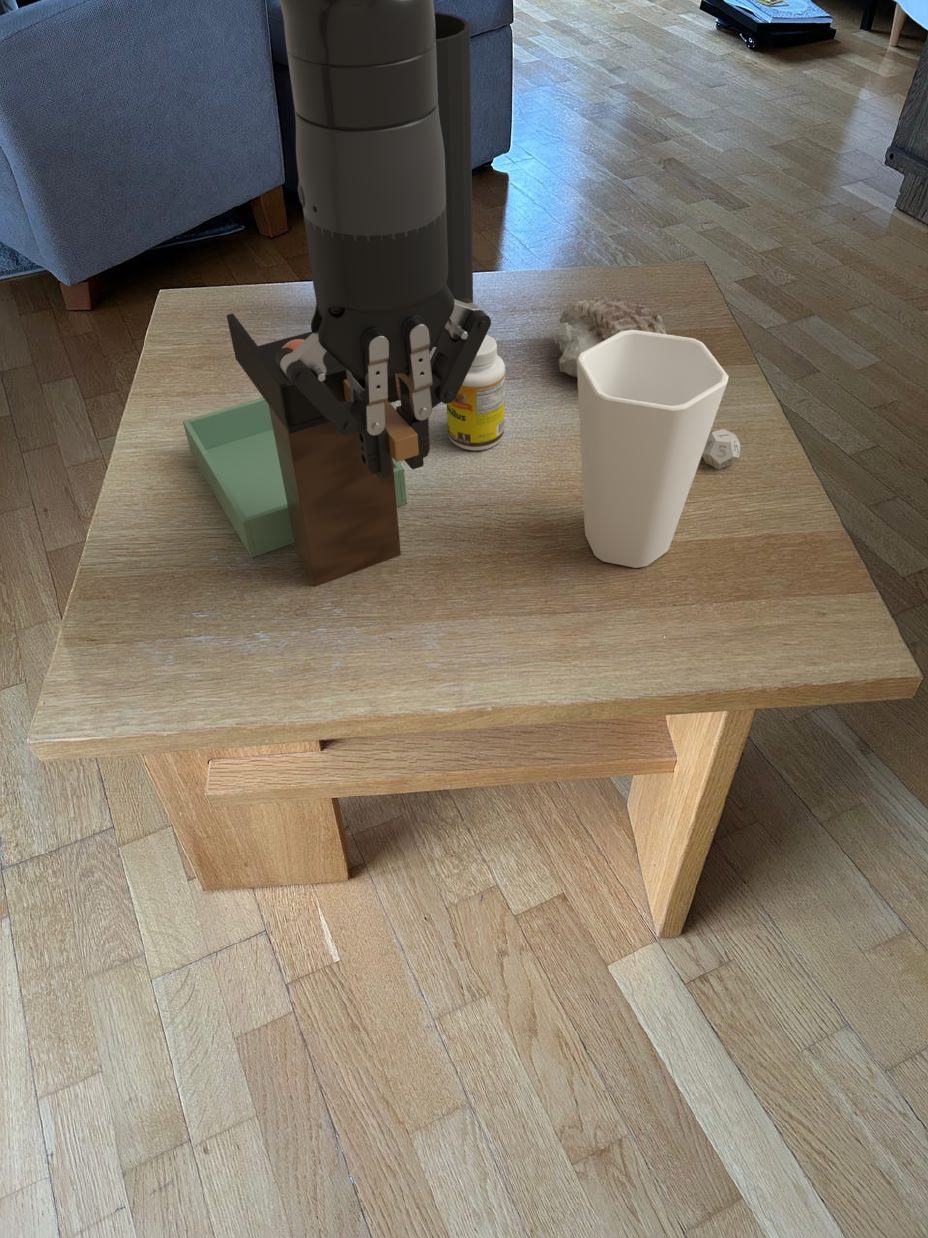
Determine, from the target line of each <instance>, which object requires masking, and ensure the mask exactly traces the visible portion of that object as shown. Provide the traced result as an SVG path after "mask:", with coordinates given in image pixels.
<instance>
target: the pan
mask: <svg viewBox="0 0 928 1238" xmlns="http://www.w3.org/2000/svg"><path fill="white" fill-rule="evenodd" d="M226 320H227V325H228V329H229V333H230V338H231V342H232V347H233V348H232V349H233V352H234V357H235V360H236V362H237V364H239V366H240V367H241V369H242V370H243V371H244V372H245V374H246V376H247V377H248V378H249V380H250V381H251V382H252V384H253V385H254V387H255V388H256V389H257V391H258V393H260V396H262V398H264V399H265V400H266V402H267V403H268V405H269V406H270V407H271V409H272V410H273V412H274V413H275V414H276V416H277V417H278V419H279V420H280V421H281V423H282V424H283V426H284V427H285V428H286V430H287V431H288V433H289V434H292V433H295V432H298V431H302V430H305V429H308V428H311V427H315V426H318V425H321V424H324V423H327V422H330V421H329V420H328V419H327V418H326V417H325V416H324V415H323V414H322V413H321V412H320V411H319V410H318V409H317V408H316V407H315V406H314V405H313V404H312V403H311V402H310V401H309V400H308V399H307V398H306V397H305V396H304V395H303V394H302V393H301V392H300V391H299V390H298V389H297V388H296V387H295V386H294V385H293V383H292V382H291V381H290V380H288V379H287V378H286V377H285V376H284V375H283V374H282V372H281V371H280V368H279V365H278V364H277V362H276V354H277V352H278V351H279V350H280V349H282V347H283V346H284V345H285V344H286V343H287V342H289V341H291V340H295V339H303V340H306V339H307V338H308V337H309V336H310V335H311V334H312V331H311V330H310V331H307V332H304V333H301V334H300V333H299V334H297V335H293V336H290V337H286V338H282V339H278V340H275V341H272V342H268V343H264V344H261V345H258V344H257V343H256V341H254V339H253V338H252V336H251V335H250V334H249V332H248V331H247V330H246V329H245V327H244V326H243V325H242V323H241V322H240V321H239V319H238V318H237V317H236V315H235V314H234V313H228V314H226ZM323 362H324V364H325V366H326V369H327V372H326V375H325V376H326V378H325V380H324V381H323V382H324V384H325V385H326V386H327V387H328V388H329V389H330V390H331V391H332V392H333V393H334V394H335V395H336V396H337V397H338V398H339V400H340V401H341V402H351V394H350V385H349V382H348V380H347V375H346V368H345V367H344V366H343V365H341V364H340V363H339V362H338V361H337V360H336V359H335V358H334V357H333V356H332V355H331V354H329V353H328V352H326V353H325V355H324V358H323ZM399 401H400V400H399V398H398V393H397V385H396V378H395V374H394V375H392V376H391V377H389V378H388V400H387V401H385V429H386V430H387V431H388V437H389V448H390V455H391V456H392V457H393V459H394V460H395V461H396V462H399V463H400V462H401V461H405V459H408V458H411V457H414V456H417V455H419V451H418V435H417V433H416V432H415V431H414V430H413V429H412V427H411V426H410V425H409V424H408V423H407V422H406V421H405V419H404V418H403V417H402V416H401V415H400V414H399V413H398V412H397V410H396V407H395V406H393V404H392V403H396V402H399Z"/></svg>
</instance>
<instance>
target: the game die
mask: <svg viewBox="0 0 928 1238" xmlns="http://www.w3.org/2000/svg"><path fill="white" fill-rule="evenodd" d="M740 453H741V442H740V440H739V439H738V437H737V435H736V434H735V433H733V432H731V431H729V430H728V429H725V428H721V429H718V430H714V431H710V433H709V436H708V439H707V442H706V445H705V448H704V451H703V453H702V456H701V458H702V459H703V460H704V462H705V464H707V465H709V466H711V467H713V468H714V469H716V470H720V469H722V468H726V467H729V466H731V465H732V464H733V463H735V462H736V461H737V460H738V459H739V458H740Z"/></svg>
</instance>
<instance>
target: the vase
mask: <svg viewBox="0 0 928 1238" xmlns="http://www.w3.org/2000/svg"><path fill="white" fill-rule="evenodd" d="M434 14H435V32H436V60H437V90H438V101H437V102H438V110H439V119H440V126H441V132H442V138H443V145H444V155H445V184H446V217H447V250H448V278H447V281H446V283H447V286H448V288H449V290H450V291H451V293H452V295H453V297H454V299H455V300H458V301H459V300H460V299H463V298H468V299H469V300H471V301H472V302H473V303H474V266H473V265H474V260H473V259H474V258H473V253H474V252H473V251H474V249H473V172H472V170H473V169H472V167H473V166H472V165H473V163H472V159H473V158H472V84H471V81H472V78H471V77H472V76H471V74H472V73H471V72H472V71H471V69H472V68H471V63H472V62H471V23H469V22H468V20H466V19H465V18H464V17H461V16H458V15H455V14H451V13H446V12H440V11H434ZM443 331H444V329H443ZM443 331H442V333H441V334H440V336H439V338H438V340H437V342H436V343H435V345H434V347H437V344H438V342H439V340H440V338H441V336H442V334H443Z"/></svg>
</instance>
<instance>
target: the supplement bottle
mask: <svg viewBox="0 0 928 1238" xmlns="http://www.w3.org/2000/svg"><path fill="white" fill-rule="evenodd" d="M497 347H498V345H497V341H496V340H495V339H494V337H492V336H490V335H488V334H486V336H485V338H484V340H483V342H482V344H481V346H480V349H479V351H478V353H477V355H476V357H475V359H474V361H473V363H472V365H471V367H470V369H469V371H468V373H467V375H466V378H465V380H464V382H463V384H462V386H461V388H460V390H459V392H458V394H457V396H456V398H455V399H454V401H452V402H451V403H449V404H446V423H447V436H448V438H449V439H450V441H451V442H452V443H453V444H454V445H456V446H457V447H459V448H461V449H464V450H468V451H484V450H487V449H491V448H493V447H495V446H496V445H498V444H499V443H500V441H501V440H502V439H503V438H504V432H505V408H506V407H505V401H506V365H505V364H506V363H505V362H504V360H503V358H502V357H500V355H498V350H497V349H498V348H497Z"/></svg>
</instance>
